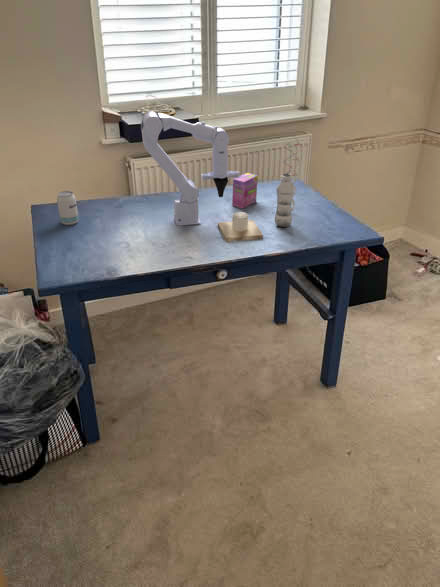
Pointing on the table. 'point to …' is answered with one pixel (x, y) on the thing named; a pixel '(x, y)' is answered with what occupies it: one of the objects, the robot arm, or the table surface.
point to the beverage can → (67, 208)
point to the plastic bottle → (284, 201)
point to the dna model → (290, 166)
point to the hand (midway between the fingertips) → (220, 196)
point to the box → (244, 190)
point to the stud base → (233, 235)
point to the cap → (240, 221)
